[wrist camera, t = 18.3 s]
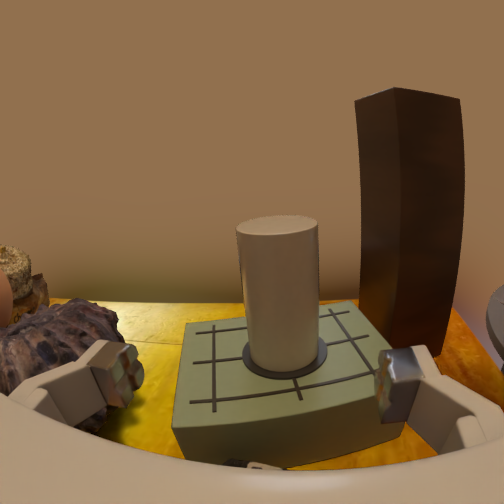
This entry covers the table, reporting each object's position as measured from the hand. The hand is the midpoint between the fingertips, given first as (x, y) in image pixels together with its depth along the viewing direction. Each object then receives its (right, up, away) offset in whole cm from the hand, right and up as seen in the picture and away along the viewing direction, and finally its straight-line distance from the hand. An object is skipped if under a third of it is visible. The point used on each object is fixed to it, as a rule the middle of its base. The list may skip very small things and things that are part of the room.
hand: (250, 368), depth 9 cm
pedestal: (+15, -6, +19) cm, 25 cm away
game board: (+3, -9, +13) cm, 16 cm away
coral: (-34, 0, +21) cm, 40 cm away
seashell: (-18, -11, +13) cm, 25 cm away
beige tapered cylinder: (+2, -3, +11) cm, 12 cm away
